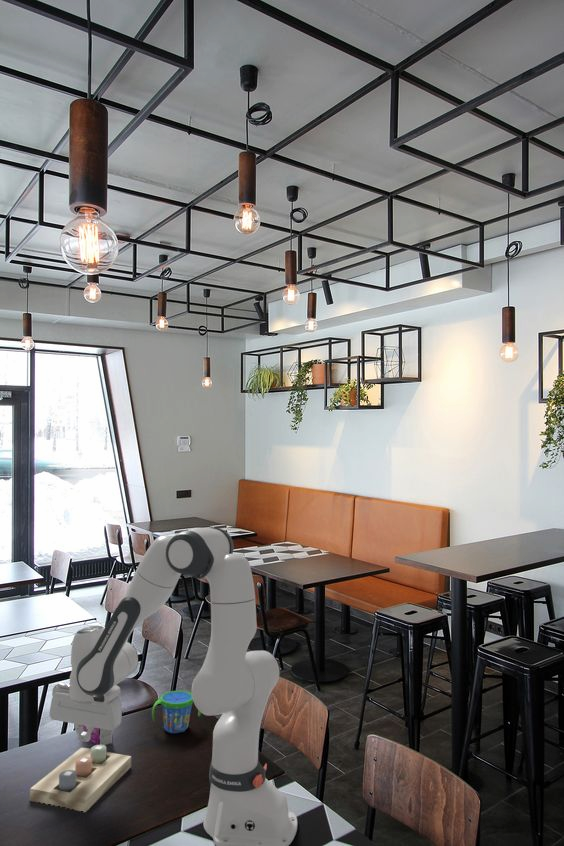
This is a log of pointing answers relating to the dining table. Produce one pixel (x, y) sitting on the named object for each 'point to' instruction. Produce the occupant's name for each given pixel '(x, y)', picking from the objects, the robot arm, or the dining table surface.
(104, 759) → the sage button
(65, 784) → the slate button
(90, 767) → the pink rounded knob
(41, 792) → the button board
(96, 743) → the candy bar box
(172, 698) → the snack cup
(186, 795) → the dining table surface
